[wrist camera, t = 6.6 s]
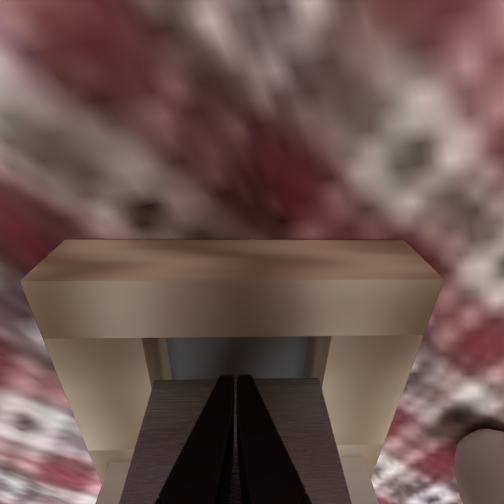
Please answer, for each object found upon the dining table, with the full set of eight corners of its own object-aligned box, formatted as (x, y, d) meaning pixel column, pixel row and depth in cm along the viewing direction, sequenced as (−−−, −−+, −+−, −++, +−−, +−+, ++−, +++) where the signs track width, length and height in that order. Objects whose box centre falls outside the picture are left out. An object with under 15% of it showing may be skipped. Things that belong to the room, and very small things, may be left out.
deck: (156, 546, 27) (147, 597, 24) (65, 239, 13) (19, 281, 10) (320, 541, 27) (329, 590, 25) (404, 240, 13) (444, 279, 11)
